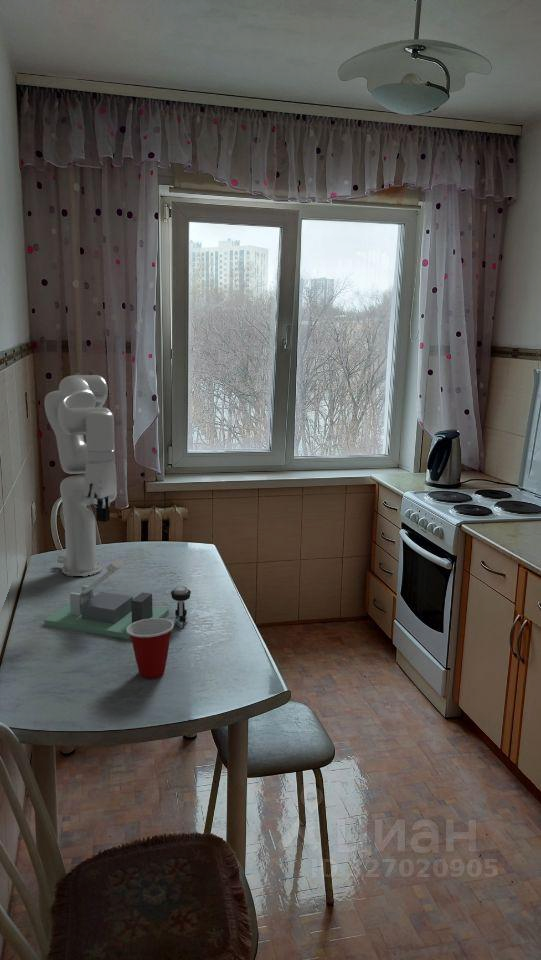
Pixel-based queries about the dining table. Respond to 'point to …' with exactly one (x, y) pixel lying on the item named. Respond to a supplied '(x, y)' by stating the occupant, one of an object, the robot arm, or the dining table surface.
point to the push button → (180, 604)
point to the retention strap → (111, 570)
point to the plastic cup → (151, 645)
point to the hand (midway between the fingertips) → (103, 520)
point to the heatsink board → (94, 625)
